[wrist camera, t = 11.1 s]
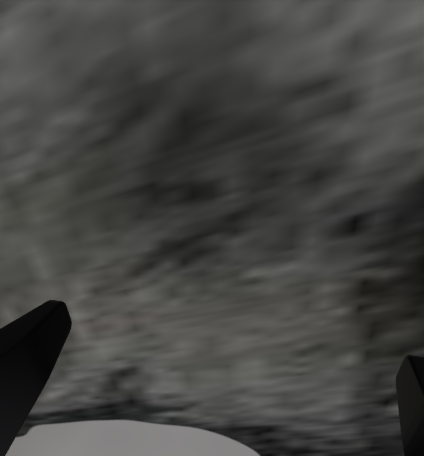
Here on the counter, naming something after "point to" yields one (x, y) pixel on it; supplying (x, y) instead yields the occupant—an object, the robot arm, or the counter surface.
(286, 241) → the counter surface
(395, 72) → the counter surface
